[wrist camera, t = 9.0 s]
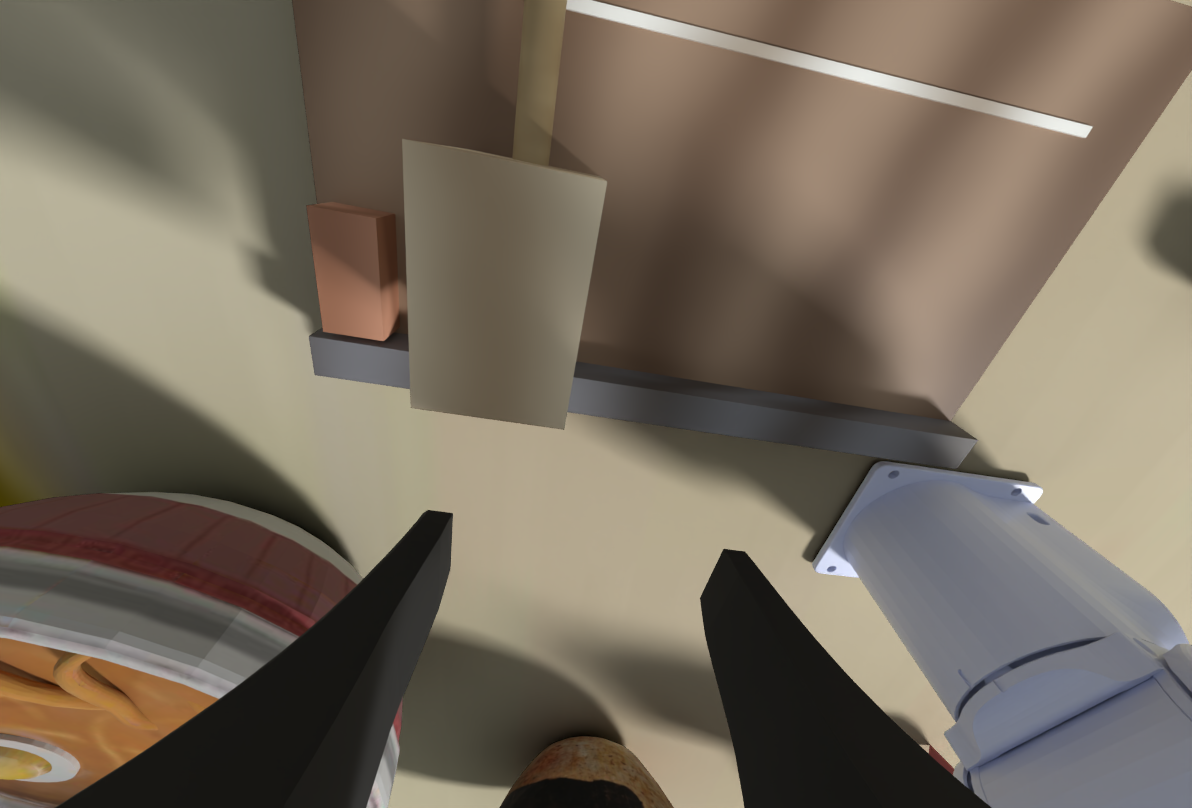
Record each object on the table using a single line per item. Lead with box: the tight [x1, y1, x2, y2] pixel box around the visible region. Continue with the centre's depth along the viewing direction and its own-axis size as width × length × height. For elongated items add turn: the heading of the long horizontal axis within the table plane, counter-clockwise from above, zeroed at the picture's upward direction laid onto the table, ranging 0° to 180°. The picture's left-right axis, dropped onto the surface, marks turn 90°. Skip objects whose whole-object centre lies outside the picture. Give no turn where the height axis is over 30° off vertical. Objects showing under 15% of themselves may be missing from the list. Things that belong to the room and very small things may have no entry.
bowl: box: [0, 492, 403, 808], centre depth 21 cm, size 23×23×10 cm
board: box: [292, 0, 1192, 469], centre depth 15 cm, size 26×16×3 cm, turn 80°
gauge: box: [402, 0, 607, 430], centre depth 11 cm, size 4×10×6 cm, turn 169°
